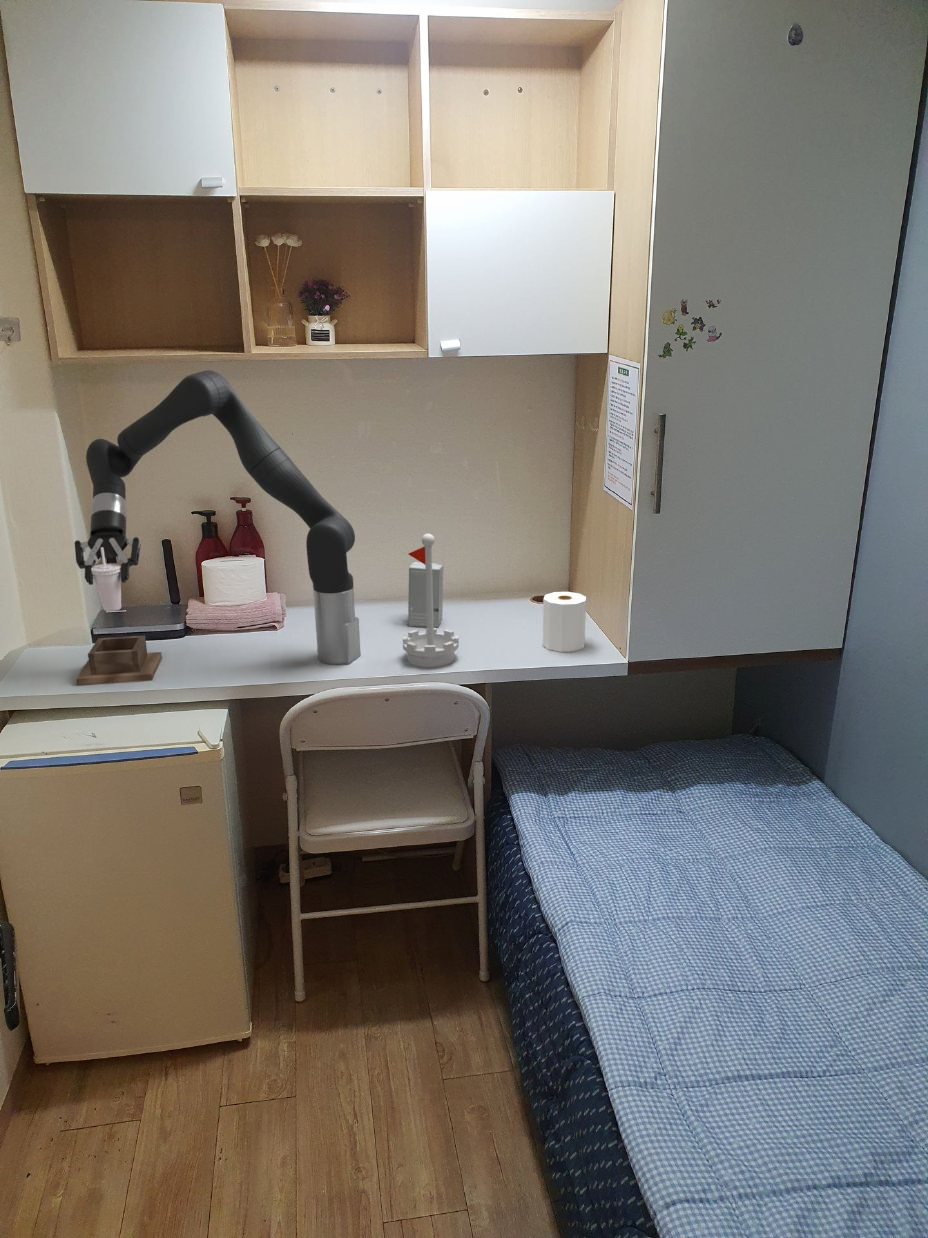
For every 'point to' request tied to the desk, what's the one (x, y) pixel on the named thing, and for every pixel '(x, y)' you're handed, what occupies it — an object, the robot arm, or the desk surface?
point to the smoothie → (108, 584)
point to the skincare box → (424, 594)
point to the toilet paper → (564, 621)
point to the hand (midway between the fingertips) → (106, 581)
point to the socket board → (119, 661)
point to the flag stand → (429, 623)
